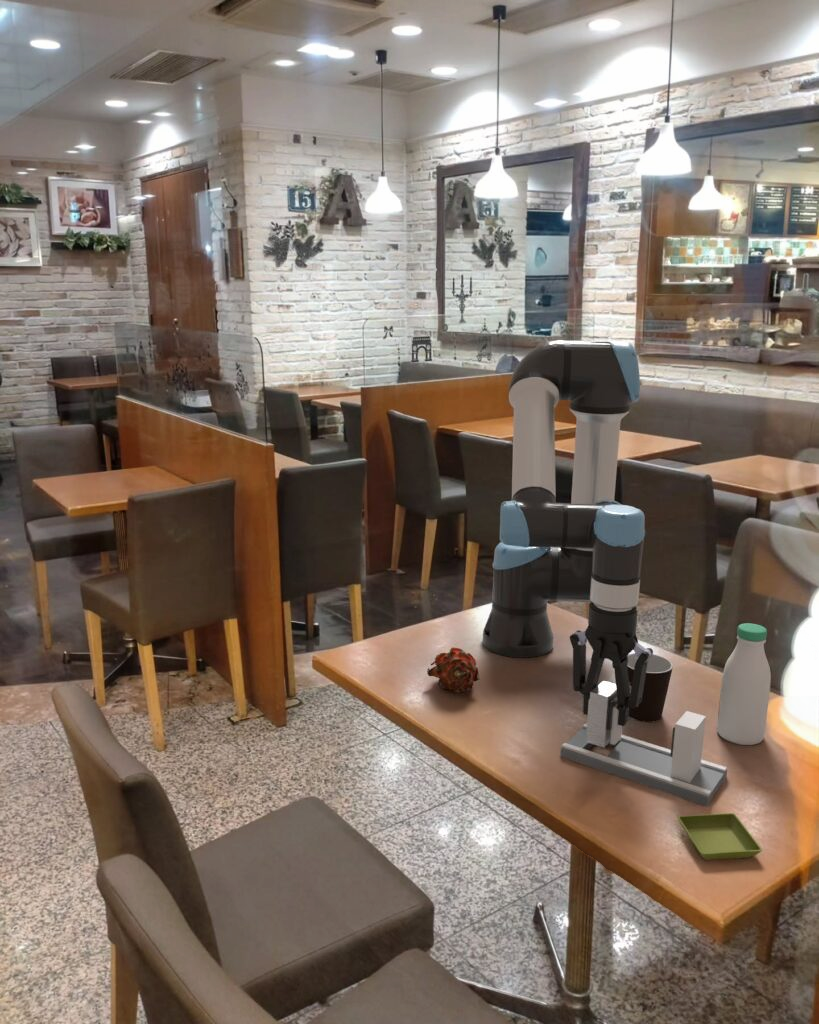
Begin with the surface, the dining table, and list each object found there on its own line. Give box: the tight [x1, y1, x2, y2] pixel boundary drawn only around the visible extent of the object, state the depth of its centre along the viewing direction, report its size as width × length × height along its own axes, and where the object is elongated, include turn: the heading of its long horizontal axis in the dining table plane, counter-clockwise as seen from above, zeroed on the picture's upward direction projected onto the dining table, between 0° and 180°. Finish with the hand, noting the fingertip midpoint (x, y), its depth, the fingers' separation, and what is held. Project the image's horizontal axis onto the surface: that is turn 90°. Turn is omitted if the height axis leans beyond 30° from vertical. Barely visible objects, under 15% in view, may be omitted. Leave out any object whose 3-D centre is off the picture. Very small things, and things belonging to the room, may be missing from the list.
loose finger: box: [587, 680, 618, 749], centre depth 143 cm, size 5×4×9 cm
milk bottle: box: [716, 622, 772, 746], centre depth 149 cm, size 8×8×20 cm
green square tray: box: [677, 812, 763, 861], centre depth 122 cm, size 9×9×2 cm
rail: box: [559, 710, 728, 807], centre depth 140 cm, size 10×24×10 cm, turn 55°
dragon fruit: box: [426, 646, 480, 693], centre depth 167 cm, size 8×8×12 cm
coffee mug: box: [627, 652, 674, 723], centre depth 159 cm, size 12×9×10 cm
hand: (603, 736), depth 144 cm, fingers closed on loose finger, 3 cm apart
